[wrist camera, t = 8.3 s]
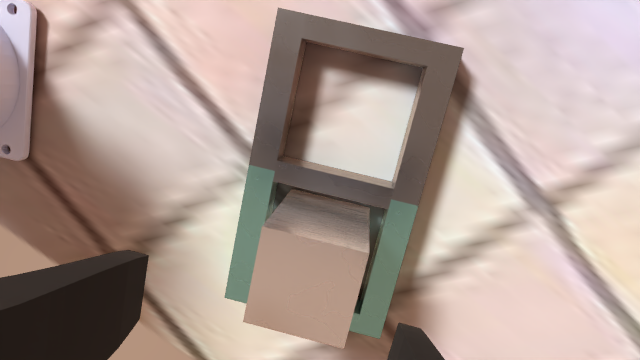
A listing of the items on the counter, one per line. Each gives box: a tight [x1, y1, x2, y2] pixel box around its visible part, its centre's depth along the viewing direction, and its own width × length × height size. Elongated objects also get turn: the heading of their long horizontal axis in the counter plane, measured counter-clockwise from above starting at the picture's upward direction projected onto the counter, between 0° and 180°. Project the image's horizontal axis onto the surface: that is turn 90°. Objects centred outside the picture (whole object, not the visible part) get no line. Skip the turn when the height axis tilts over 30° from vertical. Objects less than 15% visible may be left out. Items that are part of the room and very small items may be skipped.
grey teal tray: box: [225, 8, 464, 339], centre depth 20 cm, size 8×14×2 cm, turn 167°
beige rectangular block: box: [243, 189, 369, 349], centre depth 18 cm, size 4×4×6 cm
